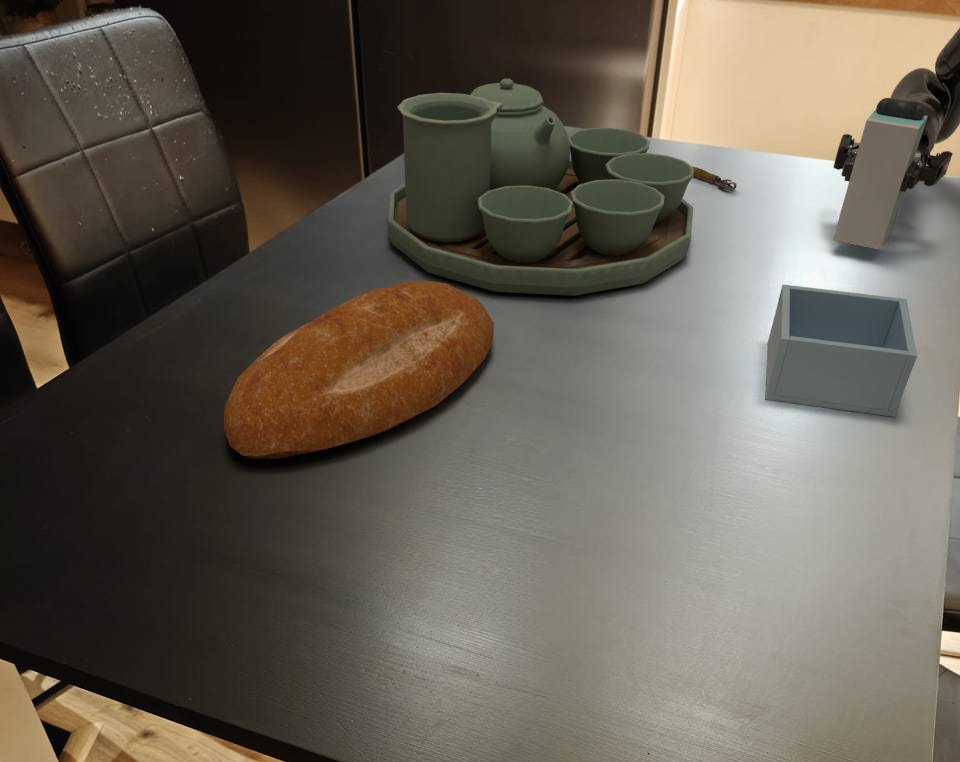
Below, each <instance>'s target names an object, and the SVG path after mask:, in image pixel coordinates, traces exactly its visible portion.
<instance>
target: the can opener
mask: <svg viewBox="0 0 960 762" xmlns="http://www.w3.org/2000/svg"><path fill="white" fill-rule="evenodd" d="M692 167H693V168H694V174H693V177H696V178H699V179H701V180H702V179H703V180H706V181H709V182H711V183H714V184H718V186H719V187H720V188H723V189H725V190H729V191H730V190H731V191H735V190H737V189H736V188H737V182H735V181H733V182H732V180H731V179H728V178H727V179H722V178H721V176H719V175H716V174H714V173H710V172H708V171H707V170H704V169H702V168H699V167H696V166H692Z"/></svg>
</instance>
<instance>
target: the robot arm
mask: <svg viewBox="0 0 960 762" xmlns="http://www.w3.org/2000/svg"><path fill="white" fill-rule="evenodd" d="M889 98H892V99H899V100H905V101H911V102H918V103H922V104H923V105H924V106H925V108H926V113H925V116H928V117H927V120H926V123H925V126H924V130H923V133H922V136H921V139H920V142H919V145H918V148H917V151H916V154H915V157H914V160H913V163H912V164H911V165H910V167H909V168H908V170H907V171H906V173H905V176H904V179H903V182H902V185H901V188H900V191H902V192H903V193H906V192H907V191H908V189H909V190H913V189H914V188H915V187H916V186H917V185H918V184H919V182H923V185H924V186H926V187H932V186H935V185H936V184H937V183H938V182H939V181H940V180H941V179H942V178H944V177H945V176H946V174H947V171H948V168H949V166H950V163H951V159H952V157H953V152H951V151H950V150H945V151H942V152H937V153H936V154H935V155H932V154H931V152H932V151H933V149H934V147H935V145H938V144H942V143H943V142H945V141H946V140H948V139H949V138H950V137H951V136H952V135H953V134H955V132H956V130H957V129H958V128H959V126H960V27H959V28H958V29H957V30H956V31H955V33H954V34H953V36H952V37H951V38H950V39H949V40H948V42H946V44H945V45H944V47H943V48H942V49H941V50H940V52H939V53H938V55H937V57H936V59H935V63H934V71H933V70H931V69H929V68H924V67H919V68H915V69H912V70H911V71H910V72H909V71H908V73H907V74H905V75H904V76H903V77H902V78H901V80H900V81H898V82H897V84H896V86H895V87H894V89H893V91H892V92H891V94H890V97H889ZM855 141H856V139H855V138H853V135H851V134H849V133H845V134H842V135H841V139H840V142H839V145H838V148H837V150H836V151H837V152H836V155H835V159H834V163H833V167H832V168H833V169H835V170H841V175H840V176H841V177H844V181H845V182H849V181H850V177H851V174H852V170H853V166H854V163H855V159H856V156H857V152H858V149H859V145H860V142H855Z"/></svg>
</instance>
